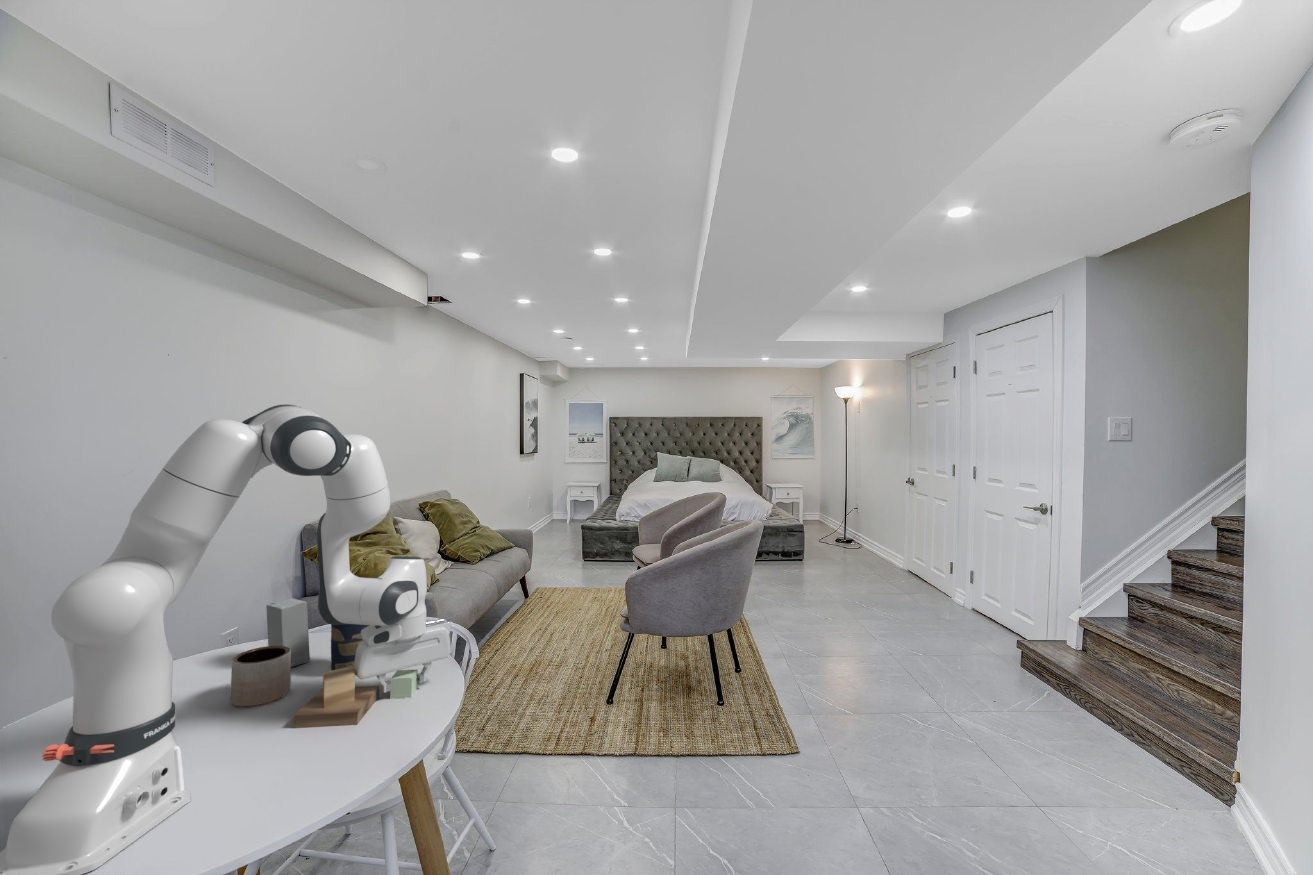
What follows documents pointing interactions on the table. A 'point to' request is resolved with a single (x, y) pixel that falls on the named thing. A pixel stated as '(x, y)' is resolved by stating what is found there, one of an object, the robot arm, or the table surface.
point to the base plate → (336, 709)
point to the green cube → (403, 683)
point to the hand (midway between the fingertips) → (404, 686)
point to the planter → (260, 676)
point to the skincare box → (289, 628)
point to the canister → (345, 644)
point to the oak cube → (338, 687)
